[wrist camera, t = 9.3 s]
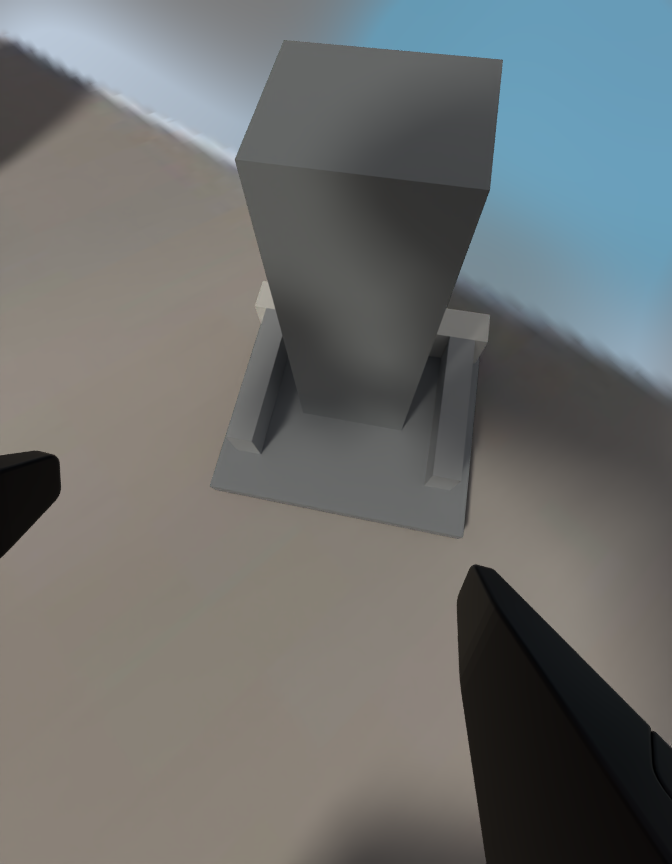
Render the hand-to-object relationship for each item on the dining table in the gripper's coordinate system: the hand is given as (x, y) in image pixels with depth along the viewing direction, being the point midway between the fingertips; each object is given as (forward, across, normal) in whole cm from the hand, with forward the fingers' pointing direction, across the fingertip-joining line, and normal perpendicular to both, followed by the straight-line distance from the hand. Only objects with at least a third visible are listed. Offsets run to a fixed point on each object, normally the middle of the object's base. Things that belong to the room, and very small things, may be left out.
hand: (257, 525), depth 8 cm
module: (+13, -1, 0) cm, 13 cm away
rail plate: (+13, -1, +2) cm, 13 cm away
